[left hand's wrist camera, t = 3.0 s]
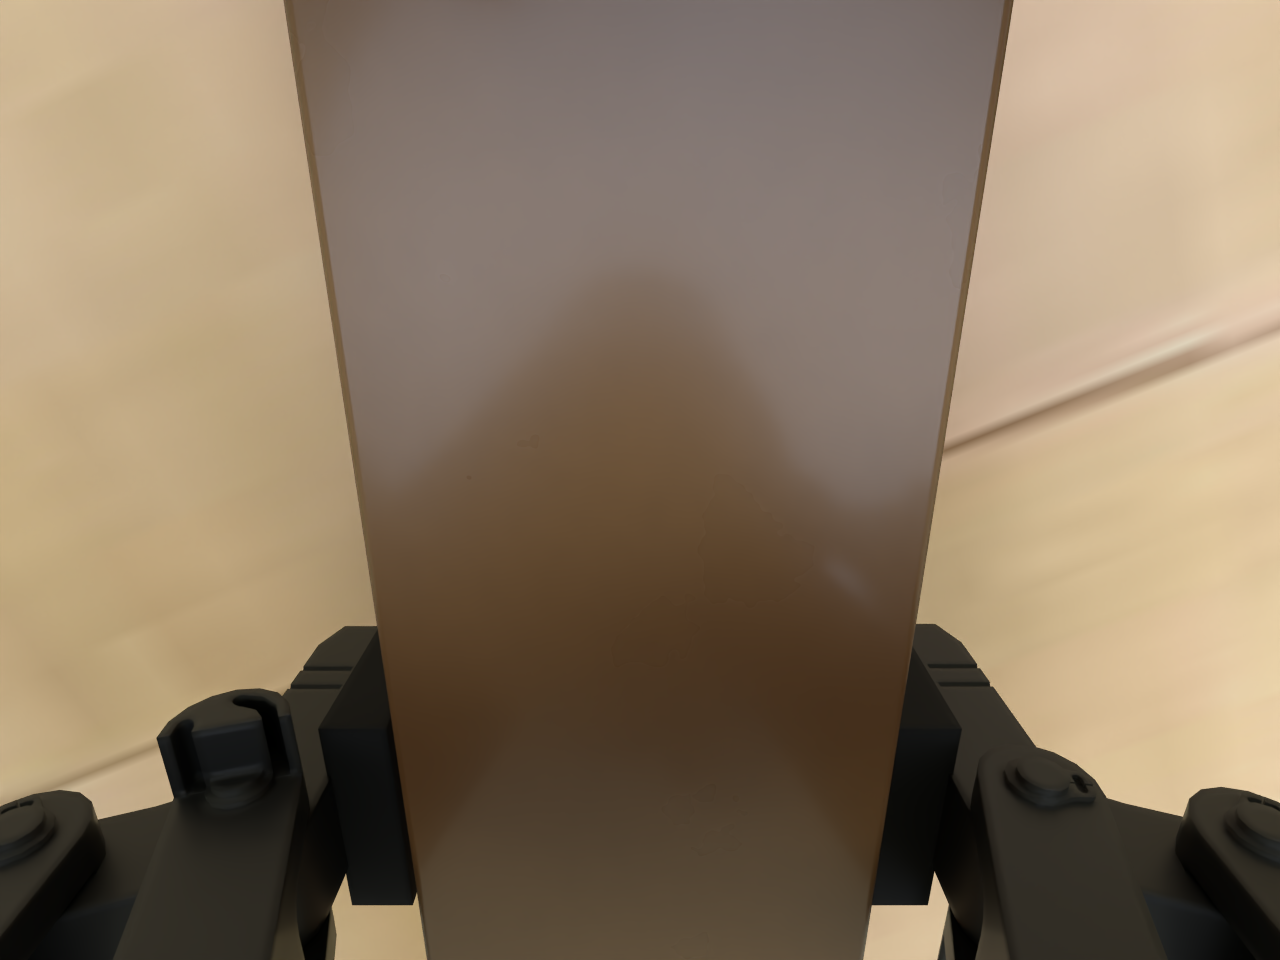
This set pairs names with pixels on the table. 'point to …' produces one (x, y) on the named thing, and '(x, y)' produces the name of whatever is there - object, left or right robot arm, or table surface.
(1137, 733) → the table surface
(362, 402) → the bar
